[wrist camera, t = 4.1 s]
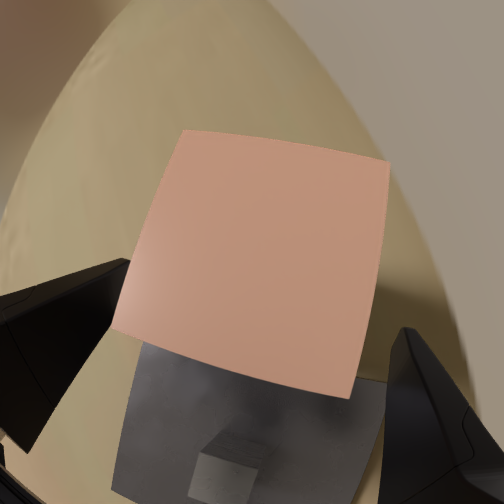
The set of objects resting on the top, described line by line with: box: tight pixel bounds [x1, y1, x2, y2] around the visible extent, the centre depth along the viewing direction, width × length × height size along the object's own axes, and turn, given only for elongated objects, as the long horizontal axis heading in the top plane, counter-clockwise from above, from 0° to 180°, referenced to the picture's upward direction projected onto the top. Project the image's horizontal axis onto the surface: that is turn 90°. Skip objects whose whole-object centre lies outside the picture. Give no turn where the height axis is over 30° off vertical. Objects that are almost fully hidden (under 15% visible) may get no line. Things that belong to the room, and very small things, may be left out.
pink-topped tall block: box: [111, 130, 390, 399], centre depth 13 cm, size 6×6×12 cm
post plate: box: [111, 341, 387, 504], centre depth 14 cm, size 13×15×5 cm
